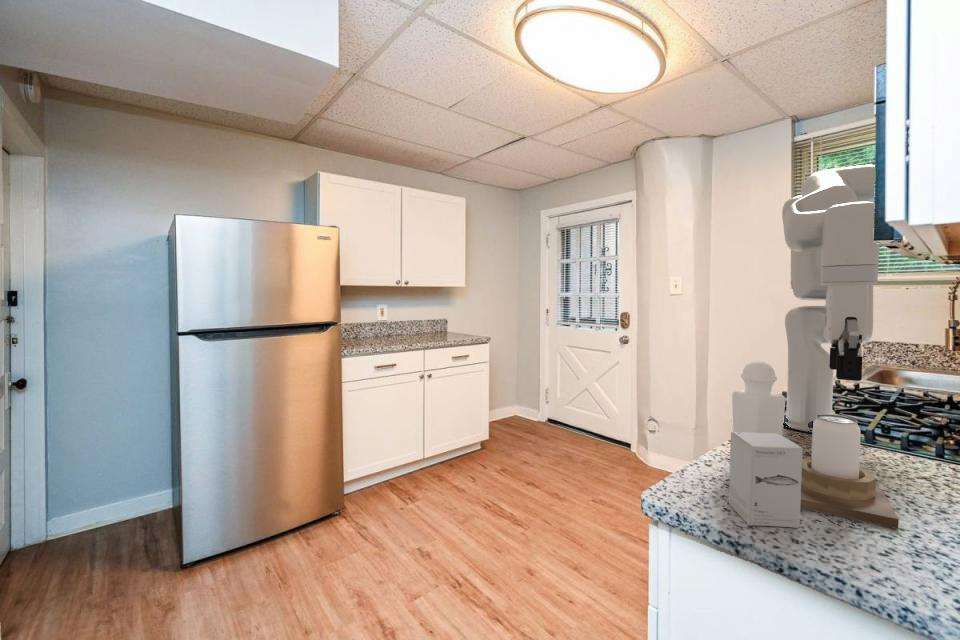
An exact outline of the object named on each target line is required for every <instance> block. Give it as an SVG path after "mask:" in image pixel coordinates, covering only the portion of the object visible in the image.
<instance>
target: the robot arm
mask: <svg viewBox="0 0 960 640" xmlns="http://www.w3.org/2000/svg"><path fill="white" fill-rule="evenodd" d="M875 166H876V165H875V164H874V165H873V164H865V165H864V164H863V165H855V166H847V167H841V168H833V169H832V168H831V169H825V170H821V171H818V172H814V173H813V174H811V175H810V176H808V177H807V178H806V179H804V181H803V182H802V185H801V188H800V195H797V196H794V197H792V198H789V199H787V200H786V202H784V204H783V206H782V210H781V215H782V217H781V218H782V224H783V234H784V235H783V236H784V240H785V243H786V245H787V247H788V248H789V249H790V250H791V251H792V252H791V253H792V260H791V261H792V262H791V263H792V264H791V265H792V268H791V269H792V272H791V273H792V275H791V277H792V279H791V280H792V283H791V284H792V293H793V295H794V297H795V298H796V299H798V300H800V301H809V302H810V301H813V302H814V301H815V302H818V301H819V302H824V301H825V305H804V306H803V305H802V306H797V307H793V308H792V309H790V310H789V311H787V313H786V314H785V318H784V326H785V333H786V341H787V342H786V343H787V377H786V378H787V381H786V382H787V384H786V386H787V387H786V418H787V419H788V422H785V423H786V424H787V425H788V426H789V427H788V428H790V427H791V428H790V429H794V430H797V431H798V430H799V431H802V432H808V431H809V433H812V431H813V428H809V427H808V423H809V422H811V421H813V423H814V421H815V420H816V418H817V417H816V415H818V414H833V397H834V395H833V392H834V370H835V378H836V379H837V380H842V381H853V382H861V381H862V379H863V355H862V354H863V351H862V350H863V349H862V344H865V343H868V342H869V341H870V340H871V338H872V336H873V332H874V286H875V285H878V280H879V262H880V261H879V258H880V257H879V255H880V243H879V244H876V243H874V242H873V229H874V183H875ZM822 344H831V347H829V352H827V350H826V349H824V348H823V346H822ZM810 430H812V431H810Z"/></svg>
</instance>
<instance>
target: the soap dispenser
mask: <svg viewBox="0 0 960 640" xmlns="http://www.w3.org/2000/svg"><path fill="white" fill-rule="evenodd" d="M740 378H741V379H742V381H743V383H744V386H745V389H740V390H734V391H733V392H732V394H731V398H732V401H731V402H732V429H733V430H732V432H749V433H777V434H779V435H781V436H783V432H784V425H783V423H784V416H785V409H786V408H785V407H786V397H785V396H784V395H783V394H780V393H776V392H772V391H773V390H772V388H773V386H774V384H775V382H777V380H778V378H777V375H776V372H775V370H774V368H773V366H771V364H769V363H768V362H765V361H761V360H754V361H750V362H748V363H747V364H745V366H744V367H743V369H742V372H741V375H740Z"/></svg>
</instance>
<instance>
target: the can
mask: <svg viewBox="0 0 960 640" xmlns="http://www.w3.org/2000/svg"><path fill="white" fill-rule="evenodd" d="M816 417H817V418H816V420H815V421H814V423H813V431H812V432H811V433H812V434H811V436H812V437H811V458H812V462H811V469H812V470H814V471H816V472H819V473H822V474H825V475H828V476H832V477H838V478H844V479H859V467H861V466H860V464H861V463H860V458H861V429H860V427H859V425H858V422H859V421H858V420H857V419H855V418H853V417H850V416H848V415H847V416H846V415H840V414H833V413H832V414H818V415H816Z"/></svg>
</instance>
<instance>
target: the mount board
mask: <svg viewBox="0 0 960 640" xmlns="http://www.w3.org/2000/svg"><path fill="white" fill-rule="evenodd" d="M811 462H812V457H808V458H806V457H805V458H804V459H803V458H802V477H801V504H800V510H808V511H811V512H817V513H820V514H821V513H823V514H825V515H831V516H835V517H841V518H844V519H850V520H853V521H855V520H856V521H859V522H860V521H861V522H864V523H868V524H873V525H878V526H882V527H888V528H892V529H893V528H894V529H897V530H898V529H899V526H900V525H899V522H900V520H899V517H898V516H897V514H896V512H895V510H894V508H893V507H892V505H891V503H890V501H888V498H887V497H886V495H885V493H884V492H883V490H882V488H881V486H880V485H879V483H878V482H877V477H875V475H874V473H873V472H872V471H869V470H867V469H865V468H863V467H861V466H859V479H844V478H838V477H832V476H828V475H825V474H822V473H819V472H816V471H814V470H812V469H811Z"/></svg>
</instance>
